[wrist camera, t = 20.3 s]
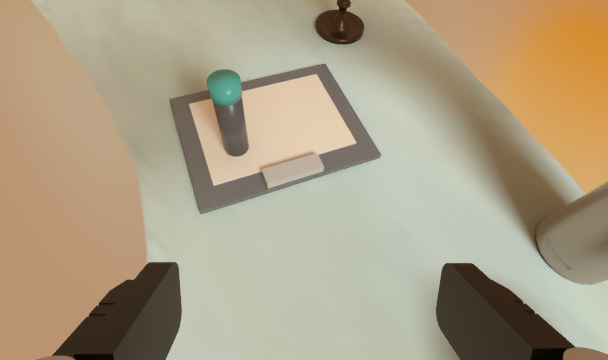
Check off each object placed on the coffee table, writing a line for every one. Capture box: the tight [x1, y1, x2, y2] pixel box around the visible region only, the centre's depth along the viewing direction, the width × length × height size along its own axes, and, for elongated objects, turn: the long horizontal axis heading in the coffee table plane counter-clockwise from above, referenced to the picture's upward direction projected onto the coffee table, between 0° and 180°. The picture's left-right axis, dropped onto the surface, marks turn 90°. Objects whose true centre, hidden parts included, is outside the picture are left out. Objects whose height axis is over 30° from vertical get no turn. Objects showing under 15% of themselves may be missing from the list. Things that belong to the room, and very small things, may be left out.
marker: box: [207, 70, 249, 157], centre depth 41 cm, size 4×4×12 cm
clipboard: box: [170, 64, 381, 214], centre depth 49 cm, size 26×20×2 cm
